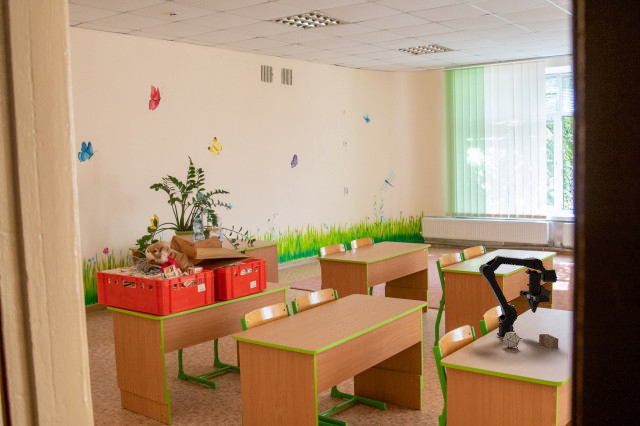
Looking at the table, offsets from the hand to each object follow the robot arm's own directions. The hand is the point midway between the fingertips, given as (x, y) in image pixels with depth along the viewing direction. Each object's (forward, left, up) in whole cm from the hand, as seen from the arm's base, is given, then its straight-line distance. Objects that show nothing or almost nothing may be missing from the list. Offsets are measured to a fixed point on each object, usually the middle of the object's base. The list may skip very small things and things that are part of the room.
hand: (533, 312), depth 301 cm
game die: (-23, -18, -12) cm, 32 cm away
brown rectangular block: (-3, -13, -10) cm, 17 cm away
